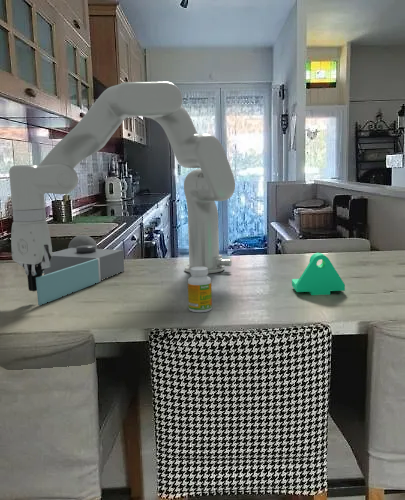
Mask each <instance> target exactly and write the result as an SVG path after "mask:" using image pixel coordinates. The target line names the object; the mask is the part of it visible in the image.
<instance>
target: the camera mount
mask: <svg viewBox="0 0 405 500" xmlns="http://www.w3.org/2000/svg"><path fill="white" fill-rule="evenodd" d="M320 260H321V261H322V262H321V263H320V264H318V262H319V261H320ZM308 261H309V263H308V264H307V266H306V267H305V269H304V271H303V272H302V273H301V275H300V277H299V278H292V279H291V286H292V288H293V289H294V291H296V292H297V293H304V292H305V293H306V292H307V293H309V294H310V295H311V296H324V295H325V296H328V295H329V296H330V295H331V292H340V291H343V292H344V291H345V292H346V284H345V283H344V280H342V278H341V276H340V275H339V273H338V271H337V270H336V268H335V267H334V265H333V263H332V262H331V260H330V258H329V257H328V256H326V255H325V254H323V253H322V252H315V253H313V254H312V255H311V256H310V257H309V260H308Z"/></svg>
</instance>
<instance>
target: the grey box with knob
mask: <svg viewBox="0 0 405 500" xmlns="http://www.w3.org/2000/svg"><path fill="white" fill-rule="evenodd" d="M96 258H99V261H100V276H101V280H102V279H104V278H107V277H110V276H112V275H115V274H117V273H120V272H122V273H124V272H125V260H124V250H123V249H110V248H109V249H108V248H107V249H106V248H105V249H104V248H97V249H96V246H94V245H84V246H78V247H76V248H65V249H62V250H57V251H54V252H53V251H52V260H51V261H49V262H50V267H49V268H45V269H44V273H43V275H46V274H49V273H52V272H55V271H59V270H62V269H65V268H68V267H71V266H75V265H78V264H81V263H84V262H87V261H90V260H94V259H96ZM123 271H124V272H123ZM120 274H121V273H120ZM117 275H118V274H117ZM115 276H116V275H115ZM112 277H113V276H112ZM110 278H111V277H110ZM107 279H108V278H107ZM102 281H103V280H102Z"/></svg>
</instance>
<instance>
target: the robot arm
mask: <svg viewBox="0 0 405 500" xmlns="http://www.w3.org/2000/svg"><path fill="white" fill-rule="evenodd" d="M133 117H144V118H147V119H151V120H153V121H155V122H156V123H157V124H159V125H160V126H161V128H162V129H163V131H164V133H165V135H166V136H167V139H168V142H169V144H170V147H171V149H172V152H173V154H174V157H175V159H176V161H177V163H178V165H180V166H181V167H182V168H187V169H194V170H192V171H190V172H189V173H188V174H187V175H186V176H185V178H184V182H183V191H184V195H185V196H184V197H185V201H186V208H187V228H188V229H187V232H188V233H187V234H188V235H187V236H188V258H189V259H188V262H189V264H187V265H185V266H184V271H185V272H186V273H189V274H191V273H190V268H192V267H207V268H208V275H209V274H215V273H220V272H223V271H224V270H225V267H232V264H233V263H232V260H231V259H229V258H228V259H227V258H226V259H224V258H223V254H220V240H219V238H220V236H219V235H220V233H219V232H220V231H219V230H220V229H219V211H218V207H217V203H216V202H223V201H224V202H225V201H227V200H229V199H230V198H232V196H233V195H234V192H235V189H236V181H235V176H234V174H233V170H232V167H231V165H230V161H229V159H228V156H227V153H226V152H225V149H224V145H222V143H221V141H220V140H219V139H218V138H217V137H216V136H214V135H212V134H209V133H202V134H201V133H200V134H199V133H198V131H197V129H196V127H195V125H194V122H193V120H192V118H191V116H190V113H188V111H187V110H186V108H185V107H184V106H183V95H182V92H181V89H180V88H179V87H178V86H177V85H176V84H174V83H173V82H170V81H129V82H122V83H119V84H116V85H111V86H110V87H108V88H106V89H104V91H102V93H101V94H100V95H99V96H98V98H97V99H96V100H95V102H94V103H93V104H92V105H91V107H90V108H89V109H88V110H87V112H86V113H85V114H84V115H83V117H82V118H81V119H80V120H79V122H78V123H76V125H75V126H74V127H73V128H72V129H70V131H69V132H68V133H67V134H66V135H65V136H64V137H63V138H62V139H61V140H59V142H58V143H57V144H56V145H54V147H52V149H50V151H49V152H48V154H47V155H46V156H45V157H44V158H43V160H42V161H41V162H40V164H39V165H37V164H18V165H12V166H11V167H10V168H9V170H8V175H9V176H8V177H9V187H10V196H11V197H10V198H11V206H12V207H11V208H12V218H13V219H12V220H13V222H12V225H11V231H10V232H11V233H10V234H11V235H10V236H11V237H10V240H11V241H10V243H11V244H10V245H11V259H12V260H13V261H14V262H15V263H18V264H17V265H19V266H21V268H22V267H23V269H24V273H25V275H26V276H27V285H28V287H27V288H28V291H31V292H37V286H36V277H40V276H43V275H44V269H45V268H49V267H50V262H49V261H51V260H52V253H53V247H52V238H51V233H50V228H49V224H48V222H47V213H46V199H45V194H53V195H65V194H66V195H67V194H69V193H71V192H73V191H74V190H75V188H76V187H77V186H78V184H79V176H78V173H77V171H76V170H75V169H74V168H75V167H76V166H78V164H80V163H81V162H82V161H83V160H85V159H86V158H88V157H91V156H92V155H94V154H96V153H97V152H99V151H101V150H102V149H103V148H104V147H105V146H106V144H107V143H108V142H109V141H110V139H111V137H112V136H113V135H114V134H115V133H116V131H117V130H118V128H119V127H120V126H121V124H122V123H123V122H124V121H125V120H126V119H129V118H133Z"/></svg>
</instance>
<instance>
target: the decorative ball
mask: <svg viewBox="0 0 405 500" xmlns="http://www.w3.org/2000/svg"><path fill="white" fill-rule="evenodd" d="M84 245H94V246H96V249H98V245H97V242H96V241H95V239H94V238H92V237H91V236H89V235H86V234H79V235H76V236H74V237H73V238H72V239H71V240H70V241H69V243H68V246H67V247H68V248H76V247H78V246H84ZM68 248H67V249H68Z"/></svg>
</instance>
